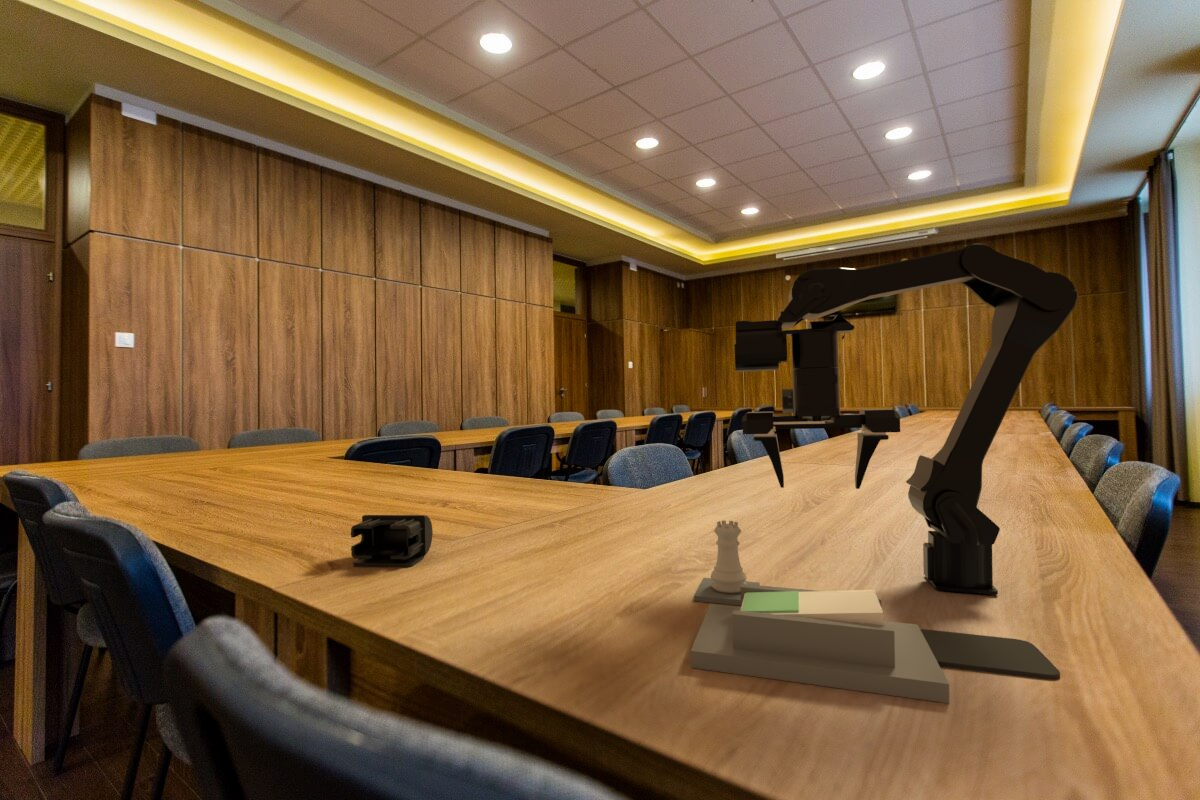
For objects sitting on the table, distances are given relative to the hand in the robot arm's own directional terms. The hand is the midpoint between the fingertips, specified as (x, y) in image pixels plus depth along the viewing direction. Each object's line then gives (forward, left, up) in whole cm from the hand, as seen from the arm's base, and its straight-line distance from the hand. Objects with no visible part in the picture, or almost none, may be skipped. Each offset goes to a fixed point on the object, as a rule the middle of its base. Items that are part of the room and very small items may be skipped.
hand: (819, 487), depth 75 cm
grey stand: (+2, +24, -12) cm, 27 cm away
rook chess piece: (+11, +10, -11) cm, 18 cm away
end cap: (+61, +9, -12) cm, 63 cm away
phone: (-10, +19, -12) cm, 25 cm away
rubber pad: (+11, +10, -12) cm, 19 cm away
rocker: (+2, +24, -8) cm, 25 cm away
